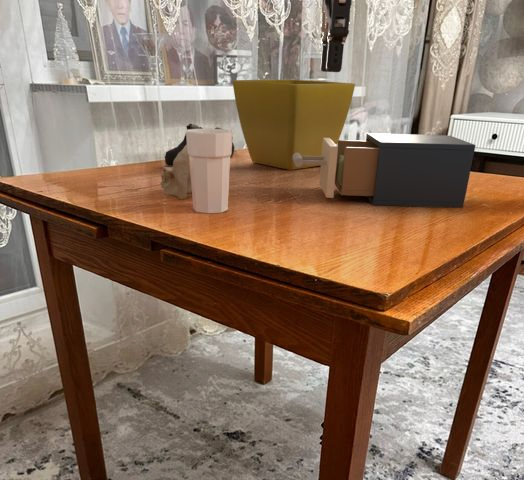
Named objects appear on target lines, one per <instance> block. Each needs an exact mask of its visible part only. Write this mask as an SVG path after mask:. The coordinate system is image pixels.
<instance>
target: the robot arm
mask: <svg viewBox="0 0 524 480" xmlns="http://www.w3.org/2000/svg"><path fill="white" fill-rule="evenodd" d="M321 1H322V2H321V19H320V20H321V21H320V31H321V33H320V42H321V45H322V48H321V60H320V71H321V72H325V73H340V72H341V71H342V68H343V57H344V46H345V43H346V41H347V39H348V36H349V34H350V30H349V27H350V22H351V9H352V4H353V3H352V2H353V1H352V0H321Z"/></svg>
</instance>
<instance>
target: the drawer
mask: <svg viewBox="0 0 524 480" xmlns="http://www.w3.org/2000/svg"><path fill="white" fill-rule="evenodd" d="M378 154H379V146H377V145H376V144H375V143H373V142H372V141H366V140H359V139H357V140H354V139H339V140H338V143H337V145H336V144H335V143H334V142H333V141H332V140H331V139H330V138H323V144H322V156H301V154H300V153H294V154H293V161H294V164H295V166H296V167H302V166H303V164H305V165H320V171H319V186H320V188H321V190H322V192H323V194H324V196H325V198H330V199H334V196H335V187H336V189H337V190H338V193H339V194H340V195H341V196H355V197H356V196H359V197H366V196H373V195H374V186H375V178H376V170H377V162H378ZM340 155H344V163H343V174H342V185H341V187H340V185H339V184H338V182H337V178H338V167H339V156H340ZM316 160H321V161H316Z"/></svg>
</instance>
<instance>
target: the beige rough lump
mask: <svg viewBox="0 0 524 480" xmlns="http://www.w3.org/2000/svg"><path fill="white" fill-rule="evenodd" d="M160 179H161V181H160V186H161V188H162V189H163V191H164V192H165V195H173V196H174V197H175V196H176V197H177V198H178V199H179V200H186V199H187V195H188V194H192V186H191V174H190V162H189V154H188V152H187V144H186V145H185V147H184V148H183V150H182V151H181V152H179V153H178V155H177V157H176V158H175V159H174V161H173V165H172V166H164V167H163V171H161V172H160Z"/></svg>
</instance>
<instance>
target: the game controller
mask: <svg viewBox="0 0 524 480" xmlns="http://www.w3.org/2000/svg"><path fill="white" fill-rule="evenodd" d="M188 129H204V127H202V126H199V125H197V124H195V123H189V124H188V125H186V130H188ZM214 129H222V128H221V127H218V126H217V127H215V128H214ZM233 140H234V138H233V136H232V153H231V156H230V160H232V158H233V156H234V154H235V150H236V149H235V144H234V142H233ZM186 144H187V139H186V133H185V134H184V137H183V140H182V141H181V142H180V143H179V144H178V145H177V146H176V147H173V148H171V149H169V150H167V151H166V152H165V155H164V162H165V164H166V165H167V166H168V167H173V161H174V159H175V158H176V157H177V155H178V153H179V152H181V151H182V150H183V148H184V147H185V145H186Z"/></svg>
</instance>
